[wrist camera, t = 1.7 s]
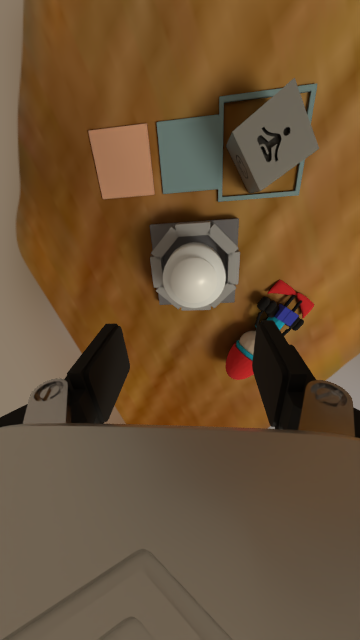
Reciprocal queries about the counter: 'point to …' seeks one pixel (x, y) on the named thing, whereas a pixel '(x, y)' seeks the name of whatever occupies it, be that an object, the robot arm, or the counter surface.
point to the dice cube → (272, 139)
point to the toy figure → (244, 348)
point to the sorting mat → (174, 154)
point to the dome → (194, 275)
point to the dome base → (207, 232)
